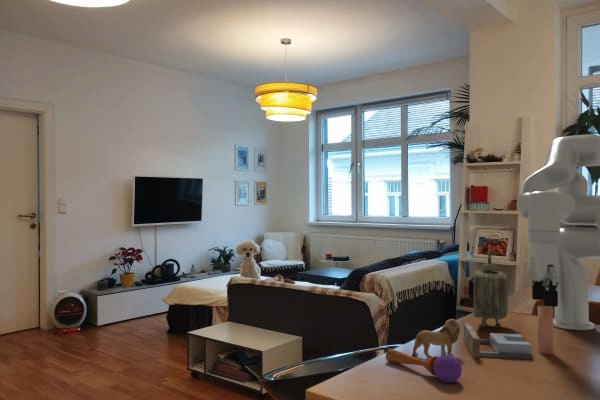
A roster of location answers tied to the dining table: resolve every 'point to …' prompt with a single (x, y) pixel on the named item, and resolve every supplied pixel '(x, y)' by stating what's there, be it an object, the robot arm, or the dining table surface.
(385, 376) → the dining table surface
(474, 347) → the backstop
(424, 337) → the lion figurine
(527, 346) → the block
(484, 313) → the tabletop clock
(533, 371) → the dining table surface
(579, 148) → the robot arm
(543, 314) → the dowel
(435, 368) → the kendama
